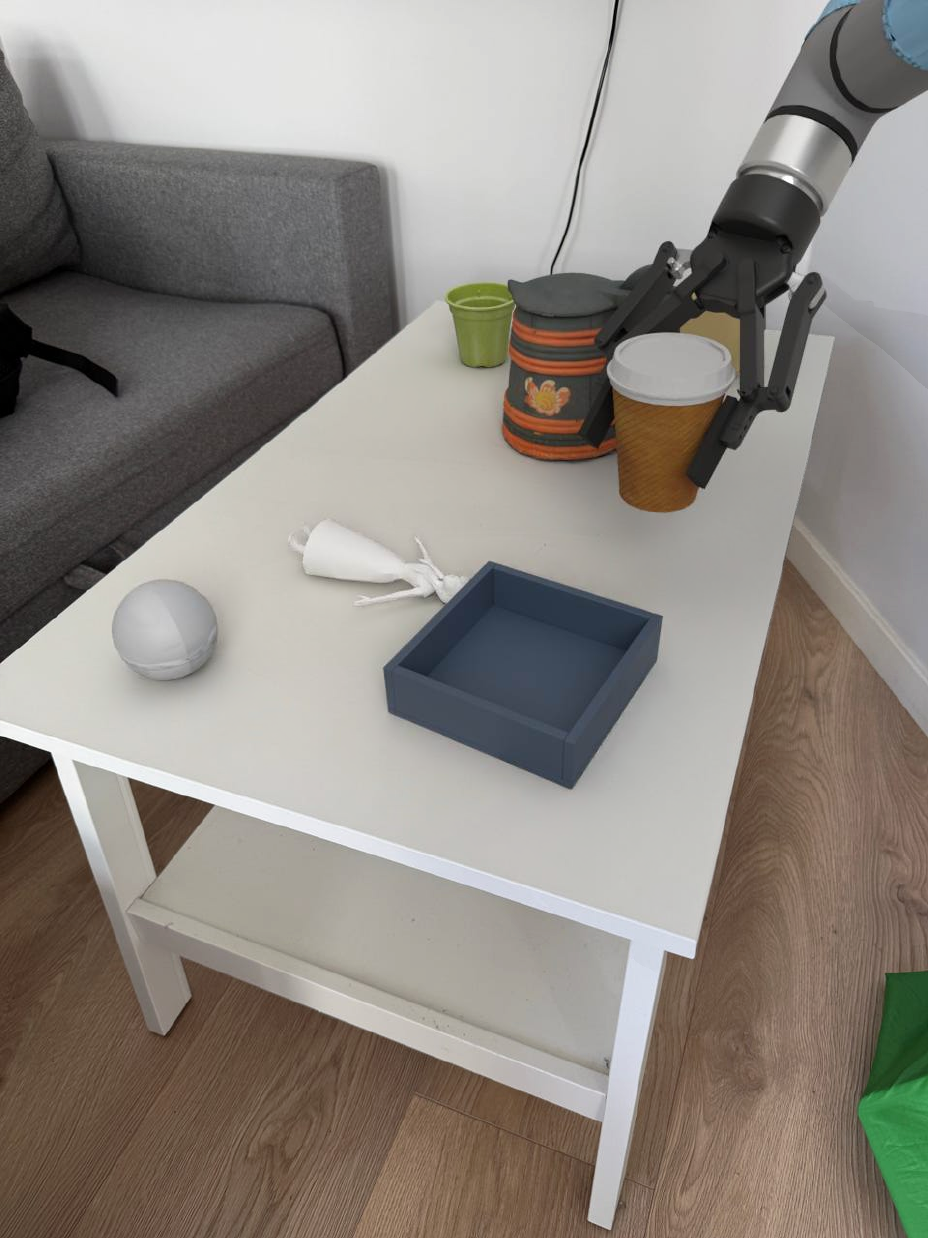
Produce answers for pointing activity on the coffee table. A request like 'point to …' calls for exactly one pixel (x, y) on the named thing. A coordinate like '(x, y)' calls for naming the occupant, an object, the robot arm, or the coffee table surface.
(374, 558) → the woman figurine
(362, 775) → the coffee table surface
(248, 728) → the coffee table surface
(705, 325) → the toy pig
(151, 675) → the bath bomb
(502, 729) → the bin
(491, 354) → the plant pot
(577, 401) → the lidded tankard
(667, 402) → the disposable coffee cup
